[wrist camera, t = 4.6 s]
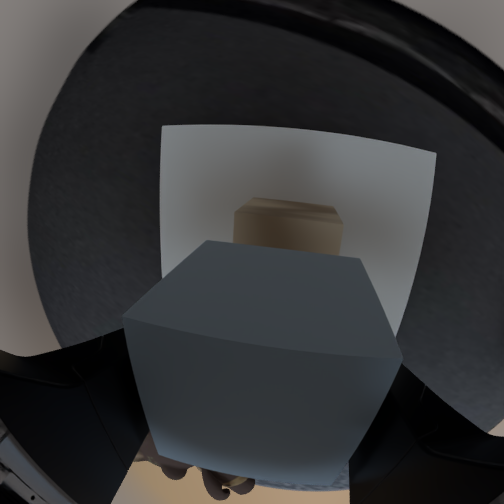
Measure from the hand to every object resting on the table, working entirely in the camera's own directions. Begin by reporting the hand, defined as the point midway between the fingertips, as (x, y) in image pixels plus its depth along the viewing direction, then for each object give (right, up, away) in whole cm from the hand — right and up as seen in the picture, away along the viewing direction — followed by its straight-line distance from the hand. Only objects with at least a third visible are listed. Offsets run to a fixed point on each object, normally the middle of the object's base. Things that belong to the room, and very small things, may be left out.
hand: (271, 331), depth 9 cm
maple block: (+2, +3, +9) cm, 10 cm away
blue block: (0, 0, +1) cm, 1 cm away
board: (+2, +3, +10) cm, 11 cm away
